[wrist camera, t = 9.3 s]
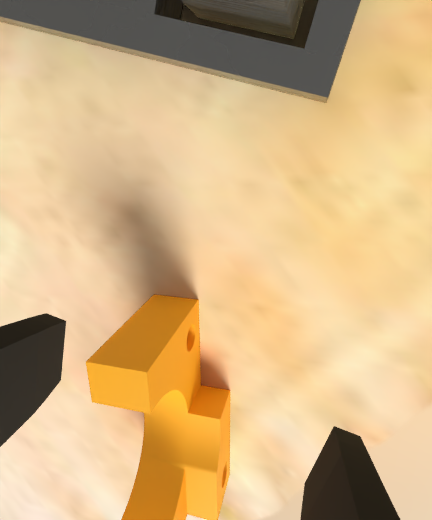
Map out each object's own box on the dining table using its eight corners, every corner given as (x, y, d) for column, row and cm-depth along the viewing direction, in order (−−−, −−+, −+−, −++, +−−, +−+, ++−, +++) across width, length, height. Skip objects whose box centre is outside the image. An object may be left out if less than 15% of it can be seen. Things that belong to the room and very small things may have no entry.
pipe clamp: (230, 471, 23) (199, 590, 17) (166, 456, 24) (117, 563, 18) (231, 301, 19) (191, 380, 13) (154, 293, 20) (85, 361, 14)
